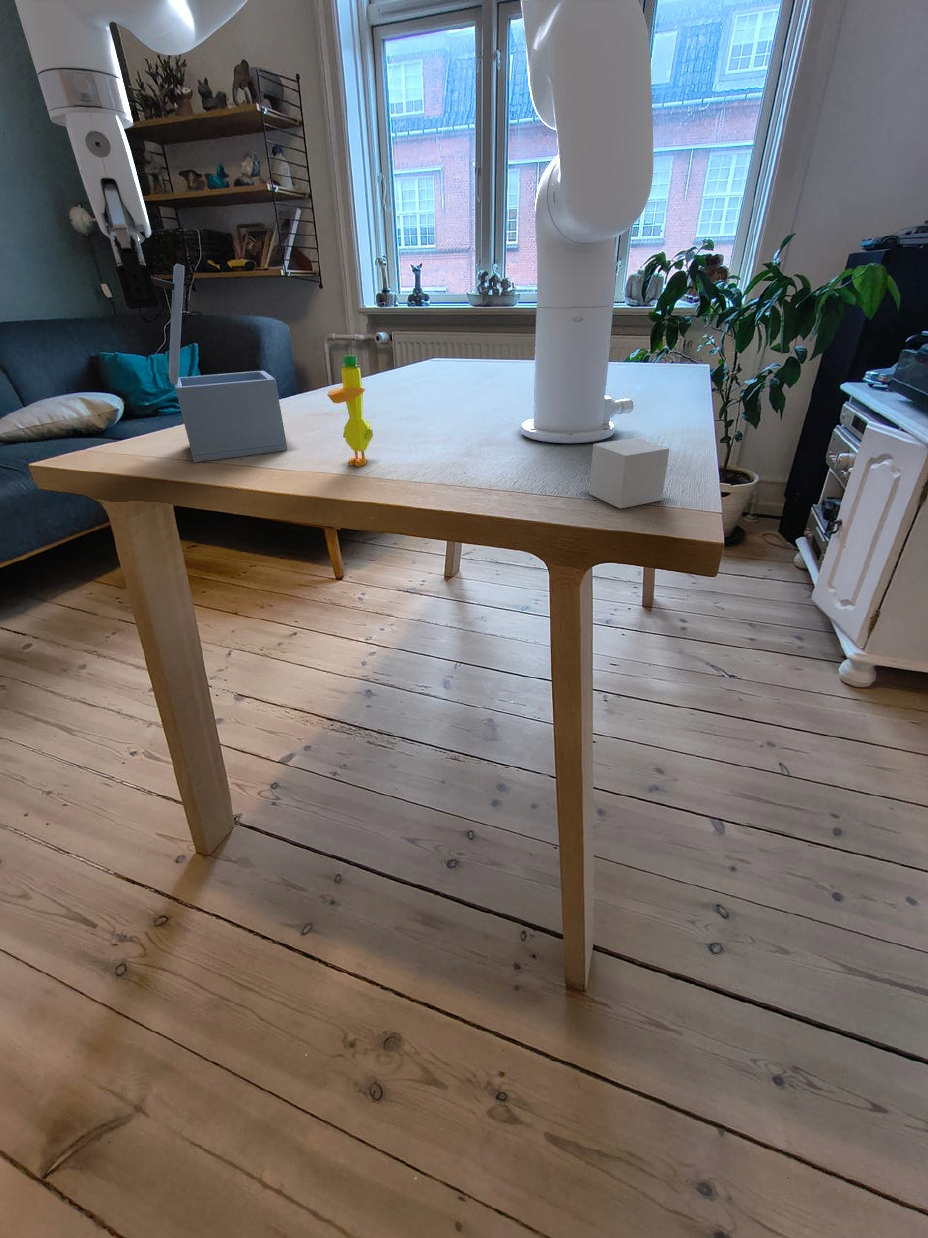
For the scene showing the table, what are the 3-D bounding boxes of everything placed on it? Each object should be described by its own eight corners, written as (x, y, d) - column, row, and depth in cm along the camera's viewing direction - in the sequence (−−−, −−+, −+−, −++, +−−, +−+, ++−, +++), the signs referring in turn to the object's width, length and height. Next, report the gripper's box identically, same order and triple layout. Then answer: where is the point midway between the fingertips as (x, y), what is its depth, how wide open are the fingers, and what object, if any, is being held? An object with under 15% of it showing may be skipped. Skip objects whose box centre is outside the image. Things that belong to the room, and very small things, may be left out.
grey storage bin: (275, 435, 86) (263, 370, 81) (287, 450, 78) (275, 379, 74) (190, 445, 82) (172, 377, 77) (194, 462, 74) (175, 387, 70)
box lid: (180, 267, 73) (134, 254, 70) (184, 265, 65) (132, 250, 63) (175, 374, 77) (131, 365, 75) (177, 384, 70) (129, 374, 67)
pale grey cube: (629, 486, 61) (634, 437, 59) (662, 500, 57) (669, 448, 55) (588, 494, 59) (592, 443, 57) (620, 509, 56) (625, 455, 53)
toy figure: (352, 473, 68) (338, 360, 62) (327, 469, 70) (311, 359, 64) (385, 458, 73) (375, 352, 67) (361, 455, 75) (350, 351, 69)
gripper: (125, 83, 54) (181, 307, 64) (131, 124, 68) (176, 303, 77) (31, 77, 52) (102, 311, 61) (56, 121, 65) (112, 307, 74)
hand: (143, 305), depth 69 cm, fingers closed on box lid, 5 cm apart
